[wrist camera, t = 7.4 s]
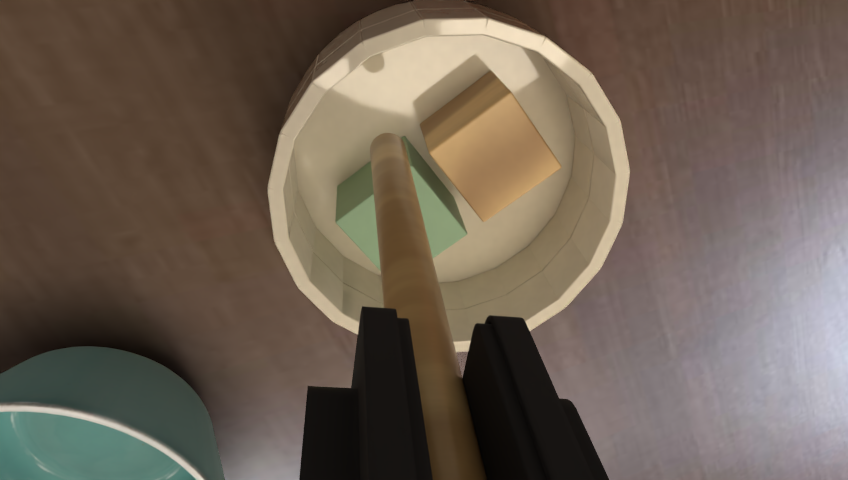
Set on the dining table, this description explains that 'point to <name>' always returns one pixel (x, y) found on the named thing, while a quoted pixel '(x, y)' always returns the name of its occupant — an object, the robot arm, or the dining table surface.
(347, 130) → the stir bowl
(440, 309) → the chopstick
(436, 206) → the sage block
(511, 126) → the maple block
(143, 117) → the dining table surface
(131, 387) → the bowl
